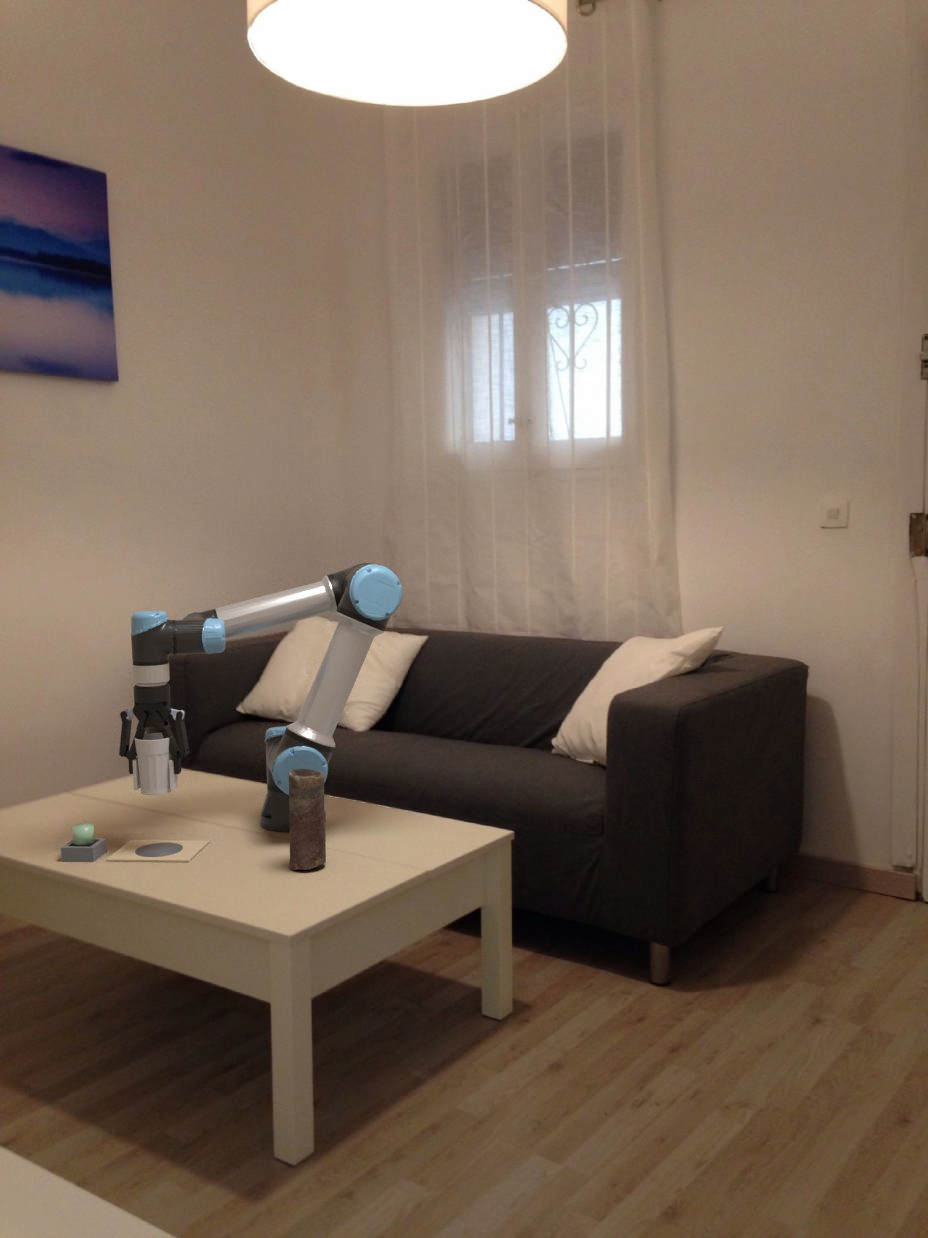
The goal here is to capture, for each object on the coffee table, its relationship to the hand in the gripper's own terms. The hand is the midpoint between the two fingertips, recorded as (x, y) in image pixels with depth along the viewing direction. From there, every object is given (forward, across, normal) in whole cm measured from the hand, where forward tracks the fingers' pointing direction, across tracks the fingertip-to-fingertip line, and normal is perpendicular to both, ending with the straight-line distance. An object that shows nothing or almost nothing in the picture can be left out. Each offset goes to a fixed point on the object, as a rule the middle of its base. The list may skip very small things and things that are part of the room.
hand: (155, 788), depth 241 cm
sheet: (+14, 0, 0) cm, 14 cm away
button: (+11, +15, +4) cm, 19 cm away
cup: (+1, 0, 0) cm, 1 cm away
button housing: (+14, +15, +4) cm, 21 cm away
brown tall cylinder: (+14, -35, +9) cm, 39 cm away
